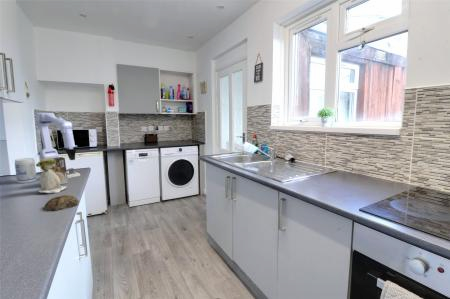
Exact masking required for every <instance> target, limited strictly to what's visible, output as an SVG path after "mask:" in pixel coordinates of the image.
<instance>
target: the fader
mask: <svg viewBox="0 0 450 299" xmlns="http://www.w3.org/2000/svg"><path fill="white" fill-rule="evenodd" d="M68 171H69V174H72V173H74V172H75V170H74V168H73V167H70V168H68Z"/></svg>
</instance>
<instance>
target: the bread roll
mask: <svg viewBox="0 0 450 299" xmlns="http://www.w3.org/2000/svg"><path fill="white" fill-rule="evenodd" d="M78 205H79V199H78V198H76V197H75V196H74V195H70V194H62V195H59V196H55V197H53V198H51V199H49V200H48V201H47V202H46V203H45V204H44V211H45V212H53V211H54V212H55V211H56V212H57V211H58V212H59V211H64V210H66V209H70V208H74V207H76V206H78Z"/></svg>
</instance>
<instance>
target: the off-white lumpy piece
mask: <svg viewBox="0 0 450 299" xmlns="http://www.w3.org/2000/svg"><path fill="white" fill-rule="evenodd" d="M58 164H59V162H56V160H55V159H51V158H48V159H42V160H39V161H38V162H36V163H35V167H38V168H40V169H41V170H42V171H41V173H40V177H39V183H40V188H39V189H37V190H36V191H37V192H38V193H42V194H44V193H45V194H53V193H55V194H57V193H58V194H59V193H60V192H61V191H63V190H65V189H67V186H63V185H59V184H58V183H60V179H59V177H58V176H57V175H56V174H55V173H54V172H53V171H52V170H51V168H52V167H53V166H56V165H58Z"/></svg>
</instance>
